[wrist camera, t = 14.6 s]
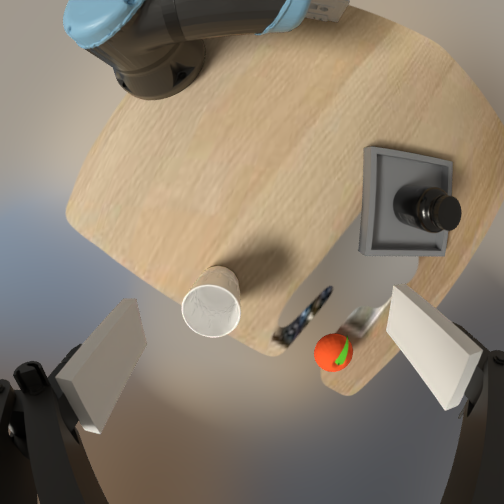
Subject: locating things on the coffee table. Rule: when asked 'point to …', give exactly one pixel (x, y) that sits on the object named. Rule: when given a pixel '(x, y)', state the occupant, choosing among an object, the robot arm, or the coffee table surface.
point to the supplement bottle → (426, 208)
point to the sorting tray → (381, 202)
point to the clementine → (333, 352)
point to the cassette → (327, 9)
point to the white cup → (213, 303)
